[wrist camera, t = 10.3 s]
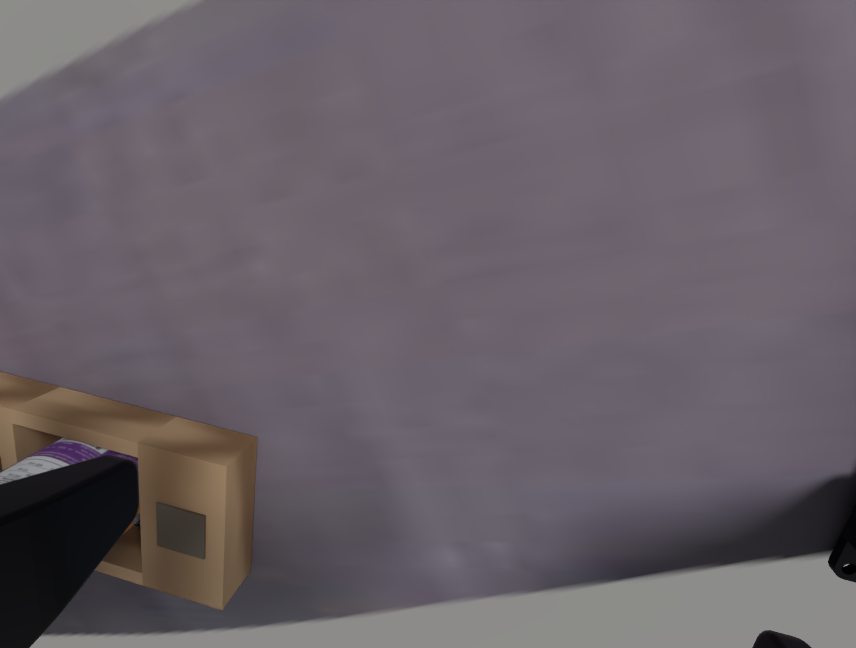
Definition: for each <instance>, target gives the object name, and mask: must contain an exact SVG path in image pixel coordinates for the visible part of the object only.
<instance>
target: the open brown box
mask: <svg viewBox="0 0 856 648" xmlns="http://www.w3.org/2000/svg"><path fill="white" fill-rule="evenodd" d="M62 437H64V438H68V439H71V440H75V441H79V442H82V443H86V444H90V445H93V446H97V447H101V448H104V449H108V450H112V451H115V452H119V453H123V454H126V455H130V456H134V457H138V472H139V499H140V526H137V525H133V526H132V527H131V528H130V529H129V530H127V531H126V532H125V533H124V534H123V535H122V536H121V537H120V538H119V540H118V541H117V542H116V544H115V545H114V546H113V547H112V549H111V550H110V551H109V552H108V554H107V555H106V556H105V558H104V559H103V560H102V561H101V563H100V564H99V565H98V566H97V568H96V569H95V571H98V572H101V573H104V574H107V575H111V576H114V577H117V578H120V579H123V580H127V581H130V582H133V583H136V584H139V585H143V586H146V587H149V588H152V589H156V590H159V591H162V592H165V593H168V594H172V595H175V596H178V597H181V598H184V599H188V600H191V601H194V602H197V603H200V604H204V605H207V606H210V607H213V608H216V609H220V610H223V609H224V607H225V606H226V605H227V603H228V602H229V600H230V599H231V598H232V596H233V595H234V593H235V592H236V590H237V589H238V588H239V586H240V585H241V583H242V582H243V581H244V579H245V578H246V576H247V575H248V574H249V572H250V571H251V555H252V535H253V516H254V496H255V477H256V457H257V438H258V437H254V436H250V435H246V434H243V433H239V432H235V431H231V430H227V429H223V428H219V427H215V426H211V425H207V424H203V423H199V422H195V421H192V420H188V419H184V418H180V417H176V416H172V415H168V414H164V413H160V412H156V411H152V410H148V409H144V408H141V407H137V406H133V405H129V404H125V403H121V402H117V401H113V400H109V399H105V398H101V397H97V396H93V395H89V394H86V393H82V392H78V391H74V390H70V389H66V388H62V387H58V386H54V385H50V384H46V383H42V382H38V381H35V380H31V379H27V378H23V377H19V376H15V375H11V374H7V373H3V372H0V472H1V471H3V470H5V469H7V468H8V467H10V466H12V465H14V464H16V463H17V462H19V461H21V460H23V459H25V458H26V457H28V456H30V455H32V454H34V453H35V452H37V451H39V450H41V449H43V448H44V447H46V446H48V445H50V444H52V443H53V442H55V441H57V440H59V439H60V438H62Z"/></svg>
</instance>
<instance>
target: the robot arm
mask: <svg viewBox="0 0 856 648" xmlns="http://www.w3.org/2000/svg"><path fill="white" fill-rule="evenodd" d="M138 508H139V484H138V467H137V465H136V463H135V462H134V461H132V460H130V459H127V458H123V457H119V456H115V455H104V456H100V457H97V458H93V459H89V460H86V461H82V462H79V463H75V464H71V465H68V466H64V467H61V468H57V469H53V470H50V471H46V472H43V473H39V474H35V475H32V476H28V477H25V478H21V479H17V480H14V481H10V482H7V483H3V484H0V648H29V647H30V646H31V645H32V644H33V643H34V642H35V641H36V640H37V639H38V638H39V637H40V636H41V635H42V633H43V632H44V631H45V630H46V629H47V628H48V627H49V626H50V624H51V623H52V622H53V621H54V620H55V619H56V618H57V617H58V615H59V614H60V613H61V612H62V610H63V609H64V608H65V607H66V606H67V604H68V603H69V602H70V601H71V600H72V598H73V597H74V596H75V595H76V593H77V592H78V591H79V589H80V588H81V587H82V586H83V584H84V583H85V582H86V581H87V579H88V578H89V577H90V575H91V574H92V573H93V572H94V570H95V569H96V568H97V566H98V565H99V564H100V563H101V561H102V560H103V559H104V558H105V556H106V555H107V554H108V552H109V551H110V550H111V549H112V547H113V546H114V545H115V544H116V542H117V541H118V540H119V538H120V537H121V536H122V535H123V533H124V532H125V531H126V530H127V528H128V527H129V526H130V524H131V523H132V522H133V520H134V518H135V516H136V514H137V512H138ZM828 563H829V566H830V567H831V569H832V570H833V571H834V573H835V574H836V575H837V576H838V577H840V578H842V579H844V580H849V581H853V582H856V506H855V508H854V510H853V512H852V514H851V516H850V518H849V520H848V522H847V524H846V526H845V528H844V529H843V532H842V534H841V535H840V537H839V539H838V541H837V543H836V545H835V547H834V549H833V551H832V553H831V555H830V557H829V561H828ZM845 564H849V565H848V566H845V567H843V566H844V565H845ZM753 648H811V647H810V646H809V645H808V644H806V643H805V642H804V641H802V640H801V639H799V638H796V637H793V636H789V635H785V634H782V633H778V632H774V631H770V630H769V631H763V632H762V633H761V634H759V636H758V637H757V639H756V641H755V643H754V646H753Z"/></svg>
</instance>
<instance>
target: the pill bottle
mask: <svg viewBox="0 0 856 648" xmlns="http://www.w3.org/2000/svg"><path fill="white" fill-rule="evenodd" d="M104 455H115V456H119V457H123V458H127V459H130V460H132V461H134V462H135V463H136V465H137V467H138V457H134V456H130V455H126V454H123V453H119V452H115V451H112V450H108V449H104V448H101V447H97V446H93V445H90V444H86V443H82V442H79V441H75V440H71V439H68V438H64V437H62V438H60V439H59V440H57V441H55V442H53V443H52V444H50V445H48V446H46V447H44V448H43V449H41V450H39V451H37V452H35V453H34V454H32V455H30V456H28V457H26V458H25V459H23V460H21V461H19V462H17V463H16V464H14V465H12V466H10V467H8V468H7V469H5V470H3V471H1V472H0V484H3V483H7V482H10V481H14V480H17V479H21V478H25V477H28V476H32V475H35V474H39V473H43V472H46V471H50V470H53V469H57V468H61V467H64V466H68V465H71V464H75V463H79V462H82V461H86V460H89V459H93V458H97V457H100V456H104ZM138 484H139V472H138ZM139 520H140V499H139V508H138V512H137V514H136V516H135V518H134V520H133V522H132V523H131V524H130V526H129V527H128V528H127V530H129V529H130V528H131V527H132V526H133V525H134V524H135V523H136V522H138V521H139ZM127 530H126V531H127ZM126 531H125V532H126ZM125 532H124V533H125ZM124 533H123V534H124Z"/></svg>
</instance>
